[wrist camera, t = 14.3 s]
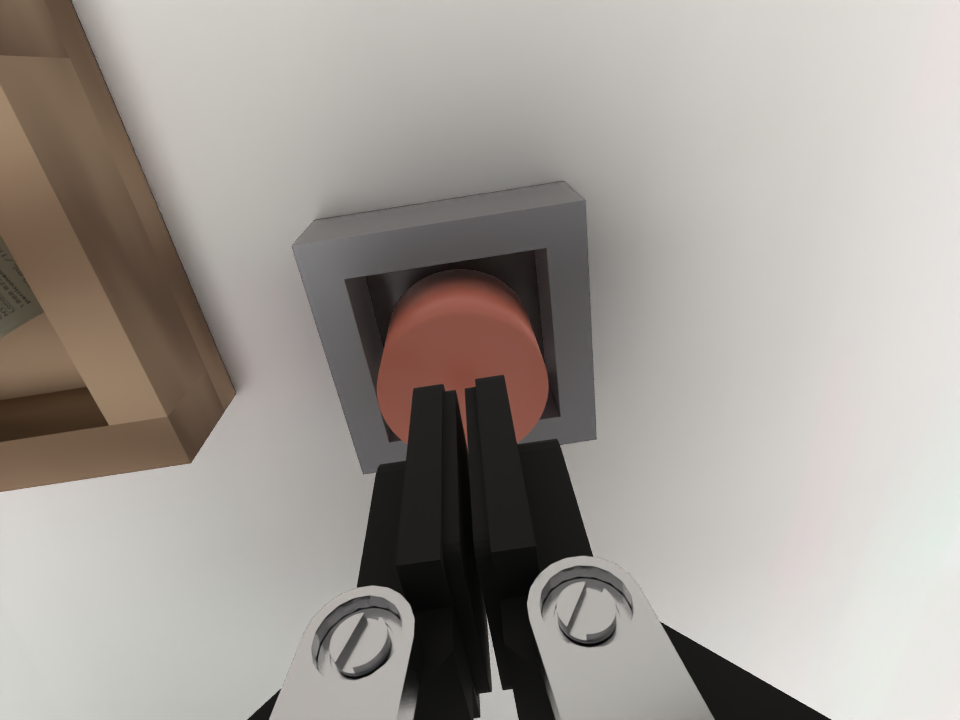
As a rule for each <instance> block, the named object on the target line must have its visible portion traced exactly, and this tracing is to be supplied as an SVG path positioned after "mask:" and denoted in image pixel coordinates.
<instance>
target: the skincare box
mask: <svg viewBox="0 0 960 720" xmlns="http://www.w3.org/2000/svg"><path fill="white" fill-rule="evenodd" d="M43 312H44V311H43V309H42V307H41V305H40V304H39V302H38V300H37V298H36V297H35V295H34V293H33V291H32V290H31V288H30V286H29V284H28V283H27V281H26V279H25V277H24V276H23V274H22V272H21V270H20V269H19V267H18V265H17V263H16V262H15V260H14V258H13V256H12V255H11V253H10V251H9V249H8V248H7V246H6V244H5V242H4V241H3V239H2V238H1V236H0V338H2V337H3V336H5V335H7V334H8V333H10V332H11V331H13V330H15V329H16V328H18V327H20V326H21V325H23V324H25V323H26V322H28V321H30V320H31V319H33V318H35V317H36V316H38V315H40V314H42V313H43Z"/></svg>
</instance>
